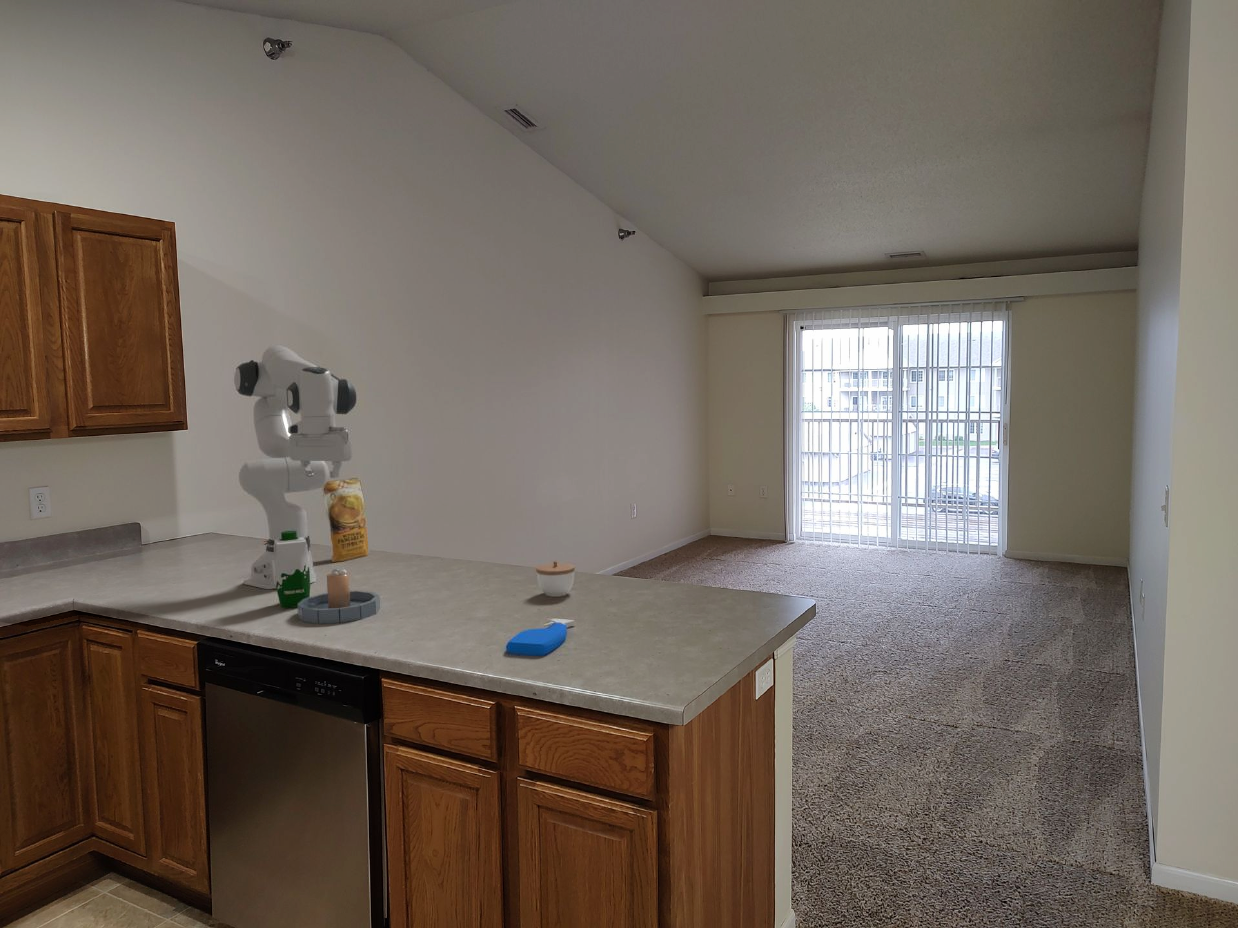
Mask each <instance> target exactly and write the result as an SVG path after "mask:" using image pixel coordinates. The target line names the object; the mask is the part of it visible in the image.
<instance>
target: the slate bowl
mask: <svg viewBox="0 0 1238 928" xmlns="http://www.w3.org/2000/svg"><path fill="white" fill-rule="evenodd" d="M350 603H351V606H349V607H342V608H328V592H326V593H319V594H315V595H312V596H310V597H308V598H305V599H303V600H302V601H300V602H299V603H298V607H297V616H298V618H299V620H301V621H302V622H305V623H311V624H319V625H320V624H321V625H322V624H337V623H338V624H339V623H345V622H352V621H358V620H362V619H365V618H368V617H371V616H374V615H376V614H377V613H378V612H379V611H380V610H381V597H380V594H378V593H377V592H374V591H368V590H350Z"/></svg>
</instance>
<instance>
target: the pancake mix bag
mask: <svg viewBox="0 0 1238 928" xmlns="http://www.w3.org/2000/svg"><path fill="white" fill-rule="evenodd" d="M321 488H322V496H323V500H324V504H325V512H326V517H327V520H328V523H329V528H330V529H329V530H330V540H331V545H332V556H331V561H332V563H336V562H339V563H340V562H345V561H350V560H354V559H359V558H363V557H366V556H368V555H369V553H370V552H369V551H370V550H369V546H368V545H369V544H368V543H369V539H368V538H369V537H368V526H367V525H368V522H367V511H366V501H365V496H364V493H363V487H362V484H361V480H360V479H359V478H358V477H352V478H347V479H334V480H329V481H328V480H327V482H326V484H325V485H324V486H323V487H321Z"/></svg>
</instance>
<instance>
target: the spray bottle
mask: <svg viewBox="0 0 1238 928" xmlns="http://www.w3.org/2000/svg"><path fill="white" fill-rule="evenodd" d="M574 626H576V621H575V620H572V619H566V618H565V619H564V618H563V619H562V618H547V619H546V623H545V624H543V625H542V627H540V628H531V629H526V630H523V631H520V632H519V633H517V634H515V635H514V636H513V637H511V638H510V640H508V642H507V644H506V645H505V649H506V652H507V653H508V654H510V655H511V654H512V655H521V656H522V655H523V656H535V657H538V656H539V657H544V656H546V655H548V654H549V653H551V652H553V651H554V650H555V649H557V648H559V647H560V646H561V645H562V643H564V641H565V640H566V637H567V634H568V628H570V627H574ZM547 627H548V628H547Z"/></svg>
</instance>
